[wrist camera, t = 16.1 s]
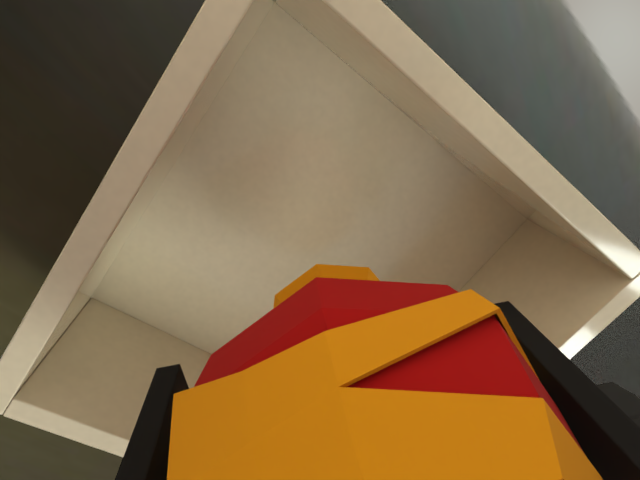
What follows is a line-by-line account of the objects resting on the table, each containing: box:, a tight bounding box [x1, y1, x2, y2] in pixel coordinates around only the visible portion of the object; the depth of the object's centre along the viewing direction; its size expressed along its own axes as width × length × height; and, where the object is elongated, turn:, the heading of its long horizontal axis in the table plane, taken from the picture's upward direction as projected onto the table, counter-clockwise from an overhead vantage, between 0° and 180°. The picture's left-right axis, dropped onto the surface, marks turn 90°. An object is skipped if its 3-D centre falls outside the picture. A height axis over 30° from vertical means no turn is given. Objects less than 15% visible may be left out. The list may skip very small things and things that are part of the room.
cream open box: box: [0, 0, 640, 457], centre depth 19 cm, size 19×19×8 cm
